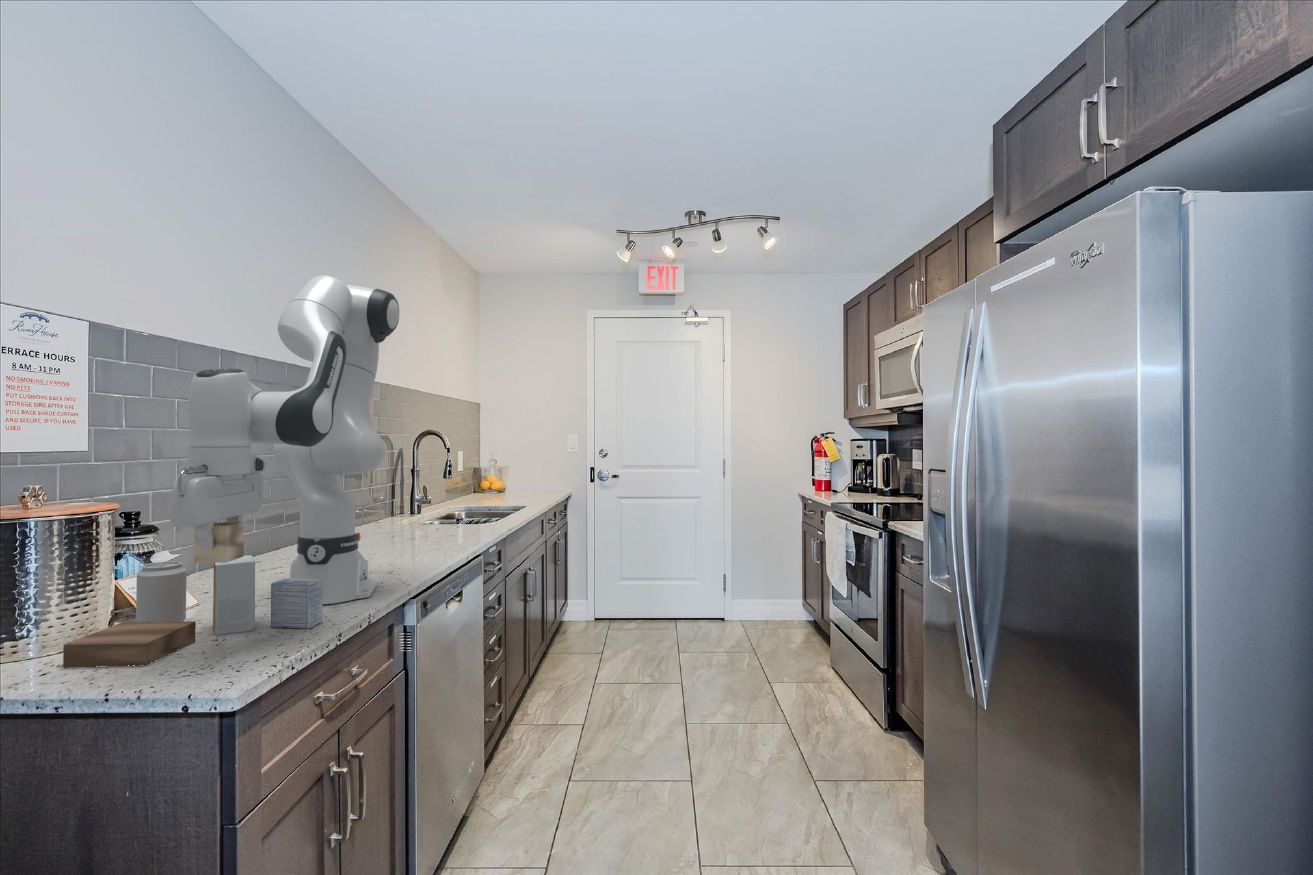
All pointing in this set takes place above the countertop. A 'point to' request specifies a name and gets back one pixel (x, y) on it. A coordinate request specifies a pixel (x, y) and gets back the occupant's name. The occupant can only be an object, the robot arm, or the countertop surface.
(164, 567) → the can
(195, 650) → the countertop surface
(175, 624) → the walnut block
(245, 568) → the small box
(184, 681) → the countertop surface
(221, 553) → the maple block
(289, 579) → the medicine box
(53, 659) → the countertop surface
